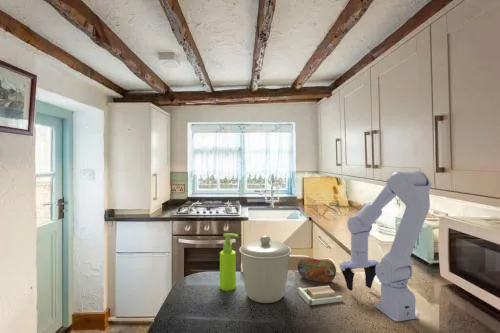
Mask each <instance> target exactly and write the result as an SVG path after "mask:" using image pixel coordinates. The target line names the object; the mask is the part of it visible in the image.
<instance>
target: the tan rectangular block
mask: <svg viewBox="0 0 500 333" xmlns="http://www.w3.org/2000/svg"><path fill="white" fill-rule="evenodd" d="M328 286H329V285H322V286H321V285H320V286H315V287H314V286H313V287H312V288H311V287H306V288H307V294H308V295H309V296H310V297H311V299H316V298H324V297H332V296H336V292H335V290H333V289H332V288H331V286H330V287H328Z"/></svg>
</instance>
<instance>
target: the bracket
mask: <svg viewBox="0 0 500 333" xmlns="http://www.w3.org/2000/svg"><path fill="white" fill-rule="evenodd" d="M327 286H328V287H330V288H331V286H330V285H327ZM307 288H308V287H305V288H302V287H301V286H300V287H297V294H298V295H299V296H300V297H301V298H302V299H303V301H305V302H306V304H307V305H308V306H315V305H321V304H322V305H323V304H331V303H338V302H340V303H341V302H343V296H342V295H335V296H332V297H324V298H316V299H311V297H310V296H309V295H308V294H307ZM310 288H312V287H310Z"/></svg>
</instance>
